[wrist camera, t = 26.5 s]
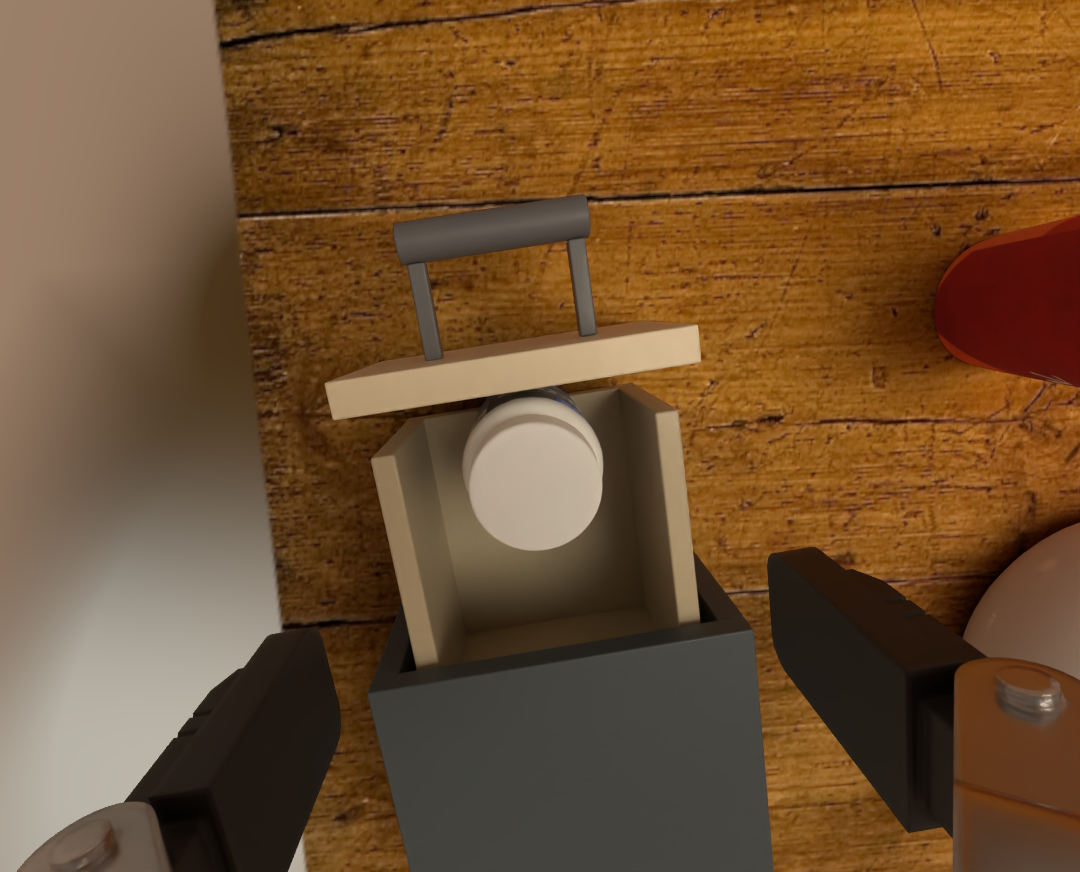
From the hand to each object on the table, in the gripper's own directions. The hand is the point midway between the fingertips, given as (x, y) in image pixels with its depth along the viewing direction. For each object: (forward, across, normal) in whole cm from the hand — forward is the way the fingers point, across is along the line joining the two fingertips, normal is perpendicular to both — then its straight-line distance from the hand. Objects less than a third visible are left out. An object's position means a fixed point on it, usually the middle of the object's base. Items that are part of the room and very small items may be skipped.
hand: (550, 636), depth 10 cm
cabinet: (+18, 0, +13) cm, 22 cm away
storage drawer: (+17, 0, 0) cm, 17 cm away
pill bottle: (+16, 0, 0) cm, 16 cm away
